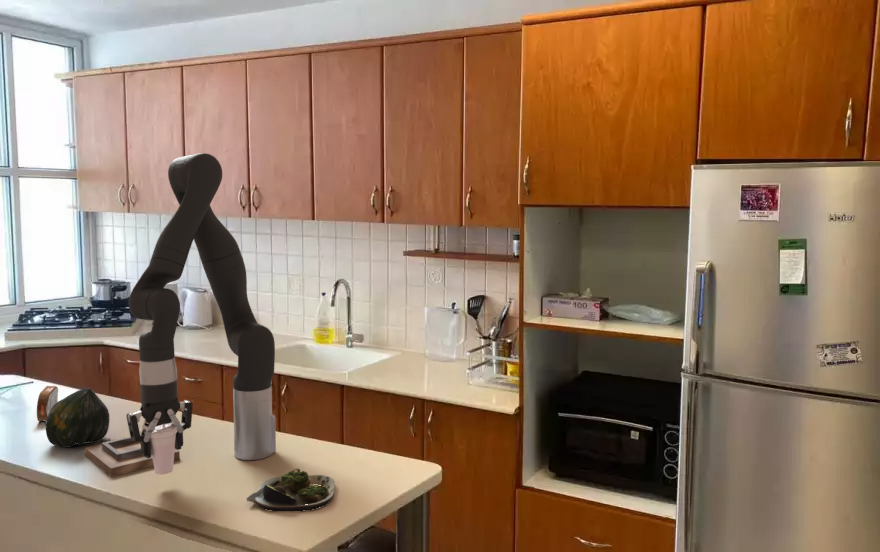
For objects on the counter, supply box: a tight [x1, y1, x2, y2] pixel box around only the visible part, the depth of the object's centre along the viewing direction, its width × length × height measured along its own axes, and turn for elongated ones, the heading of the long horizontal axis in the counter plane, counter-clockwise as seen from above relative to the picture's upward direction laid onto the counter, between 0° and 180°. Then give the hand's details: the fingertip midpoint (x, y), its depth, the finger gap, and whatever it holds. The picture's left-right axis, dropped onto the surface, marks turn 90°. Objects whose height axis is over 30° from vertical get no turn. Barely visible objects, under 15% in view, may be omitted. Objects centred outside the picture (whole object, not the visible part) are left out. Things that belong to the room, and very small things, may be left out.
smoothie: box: [149, 423, 177, 475], centre depth 151 cm, size 6×6×14 cm
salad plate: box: [246, 468, 336, 512], centre depth 150 cm, size 19×18×5 cm
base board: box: [84, 436, 181, 477], centre depth 169 cm, size 16×18×4 cm
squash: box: [45, 387, 110, 448], centre depth 179 cm, size 14×15×15 cm
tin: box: [36, 385, 59, 422], centre depth 200 cm, size 15×3×8 cm, turn 17°
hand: (162, 452), depth 152 cm, fingers closed on smoothie, 6 cm apart
